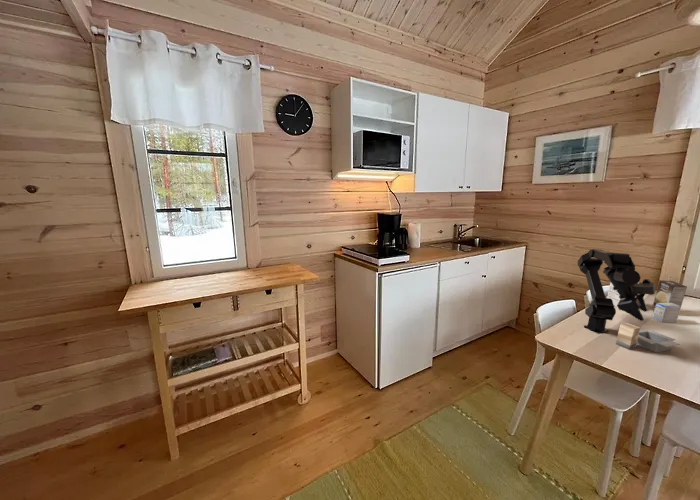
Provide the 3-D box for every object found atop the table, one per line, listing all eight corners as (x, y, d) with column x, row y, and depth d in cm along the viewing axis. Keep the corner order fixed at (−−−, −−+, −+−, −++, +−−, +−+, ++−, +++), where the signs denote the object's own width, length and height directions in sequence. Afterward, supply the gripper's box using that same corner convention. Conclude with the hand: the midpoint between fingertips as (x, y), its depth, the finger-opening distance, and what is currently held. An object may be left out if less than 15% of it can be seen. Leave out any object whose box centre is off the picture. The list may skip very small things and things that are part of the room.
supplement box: (622, 303, 167) (628, 278, 163) (635, 309, 158) (642, 283, 155) (605, 302, 167) (610, 277, 164) (617, 308, 159) (623, 282, 156)
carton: (658, 356, 113) (661, 347, 112) (619, 339, 126) (621, 330, 125) (682, 352, 116) (685, 343, 115) (642, 335, 129) (644, 327, 128)
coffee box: (651, 307, 161) (658, 279, 158) (665, 308, 160) (672, 280, 156) (665, 314, 152) (673, 285, 149) (679, 315, 151) (688, 286, 148)
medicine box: (666, 318, 147) (671, 302, 145) (676, 322, 143) (681, 306, 141) (652, 318, 147) (656, 302, 145) (661, 322, 143) (665, 306, 141)
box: (628, 349, 117) (633, 329, 116) (615, 344, 122) (620, 324, 120) (635, 347, 119) (640, 327, 117) (622, 342, 123) (626, 322, 121)
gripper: (641, 283, 109) (667, 321, 107) (648, 268, 120) (673, 302, 118) (606, 292, 118) (630, 327, 115) (616, 276, 129) (638, 308, 126)
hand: (644, 315), depth 118 cm, fingers open, 9 cm apart
